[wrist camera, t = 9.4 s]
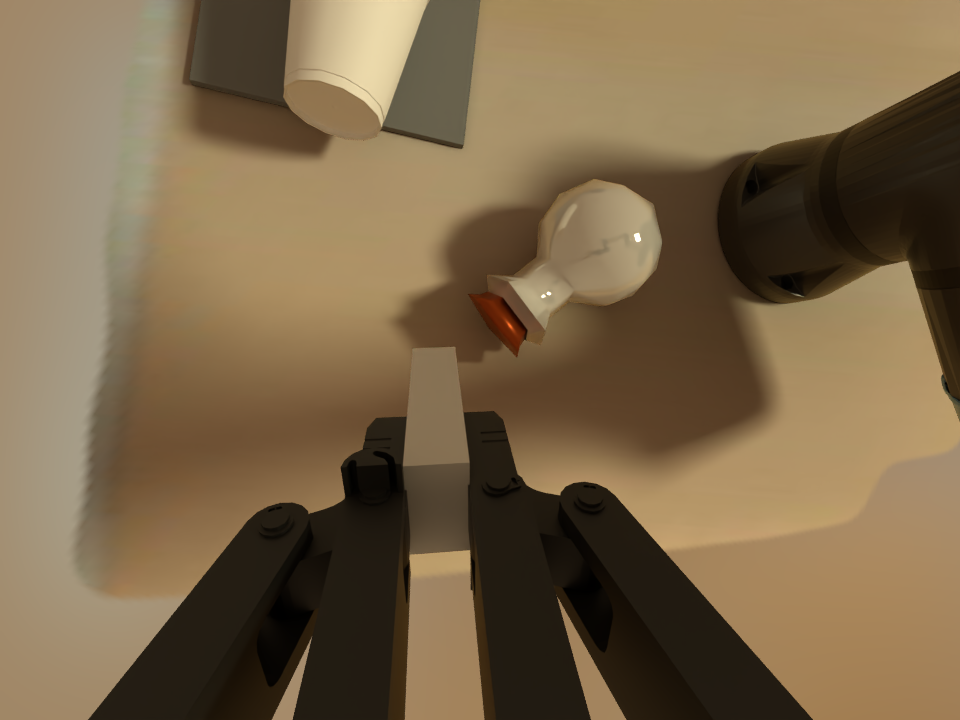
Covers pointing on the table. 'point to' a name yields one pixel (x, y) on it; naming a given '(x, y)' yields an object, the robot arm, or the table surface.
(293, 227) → the table surface
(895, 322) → the table surface
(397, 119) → the mat
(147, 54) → the table surface
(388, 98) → the foam cup
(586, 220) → the potion bottle
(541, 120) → the table surface
